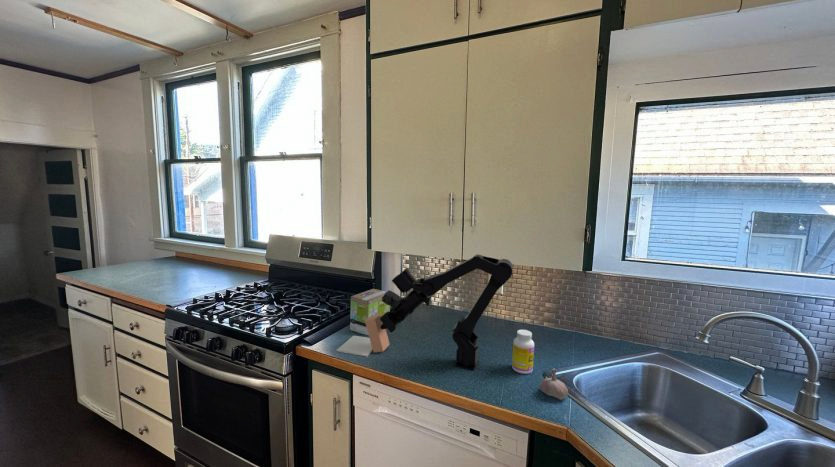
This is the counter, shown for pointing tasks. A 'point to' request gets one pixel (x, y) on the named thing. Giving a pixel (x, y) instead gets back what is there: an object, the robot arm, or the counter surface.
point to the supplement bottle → (523, 352)
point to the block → (377, 333)
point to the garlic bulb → (554, 387)
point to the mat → (357, 346)
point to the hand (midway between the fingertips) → (381, 328)
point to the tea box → (366, 309)
